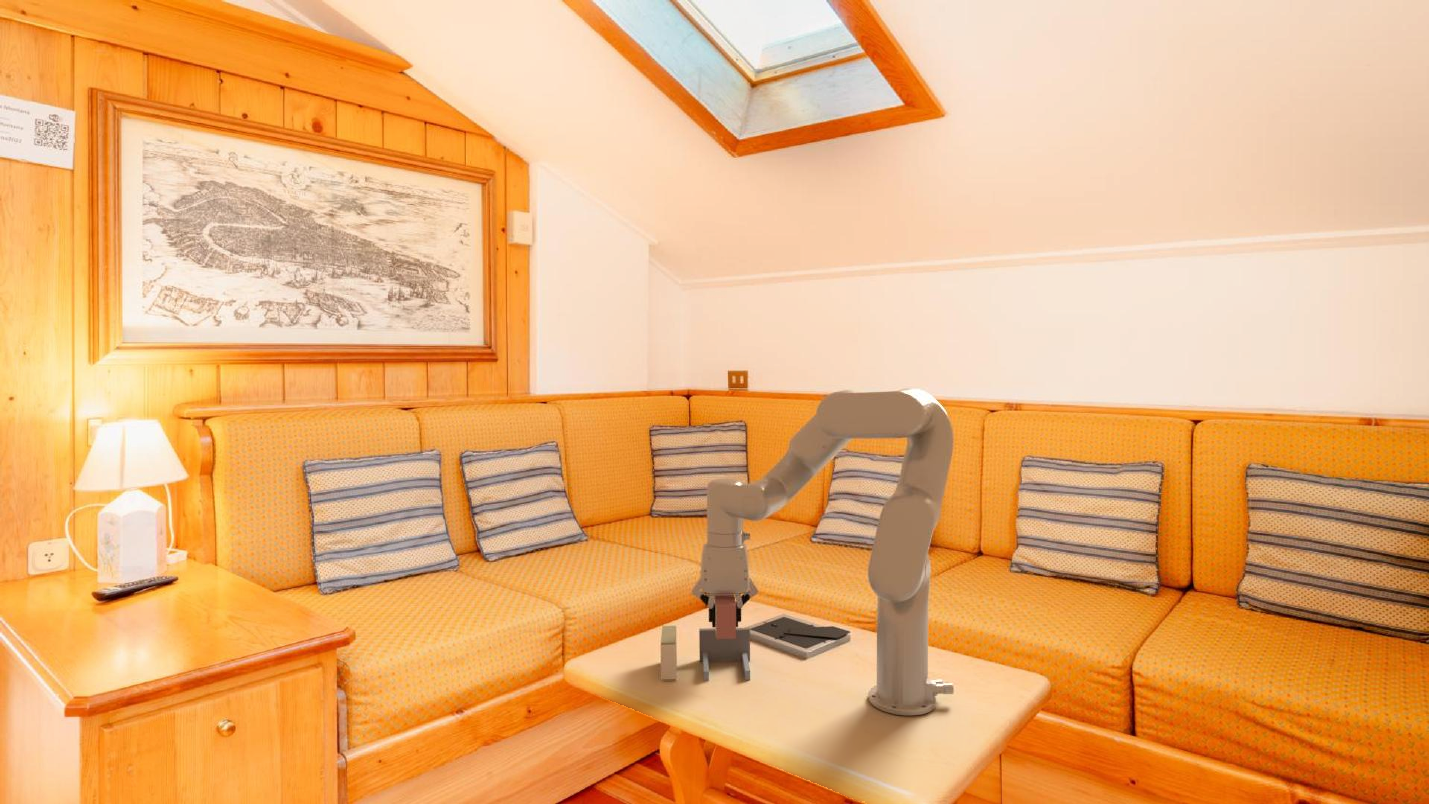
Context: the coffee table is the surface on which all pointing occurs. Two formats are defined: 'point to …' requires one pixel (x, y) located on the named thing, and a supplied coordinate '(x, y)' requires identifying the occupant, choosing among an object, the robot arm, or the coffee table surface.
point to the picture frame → (798, 635)
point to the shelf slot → (724, 649)
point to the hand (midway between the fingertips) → (724, 624)
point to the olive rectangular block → (668, 653)
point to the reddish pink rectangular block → (725, 616)
